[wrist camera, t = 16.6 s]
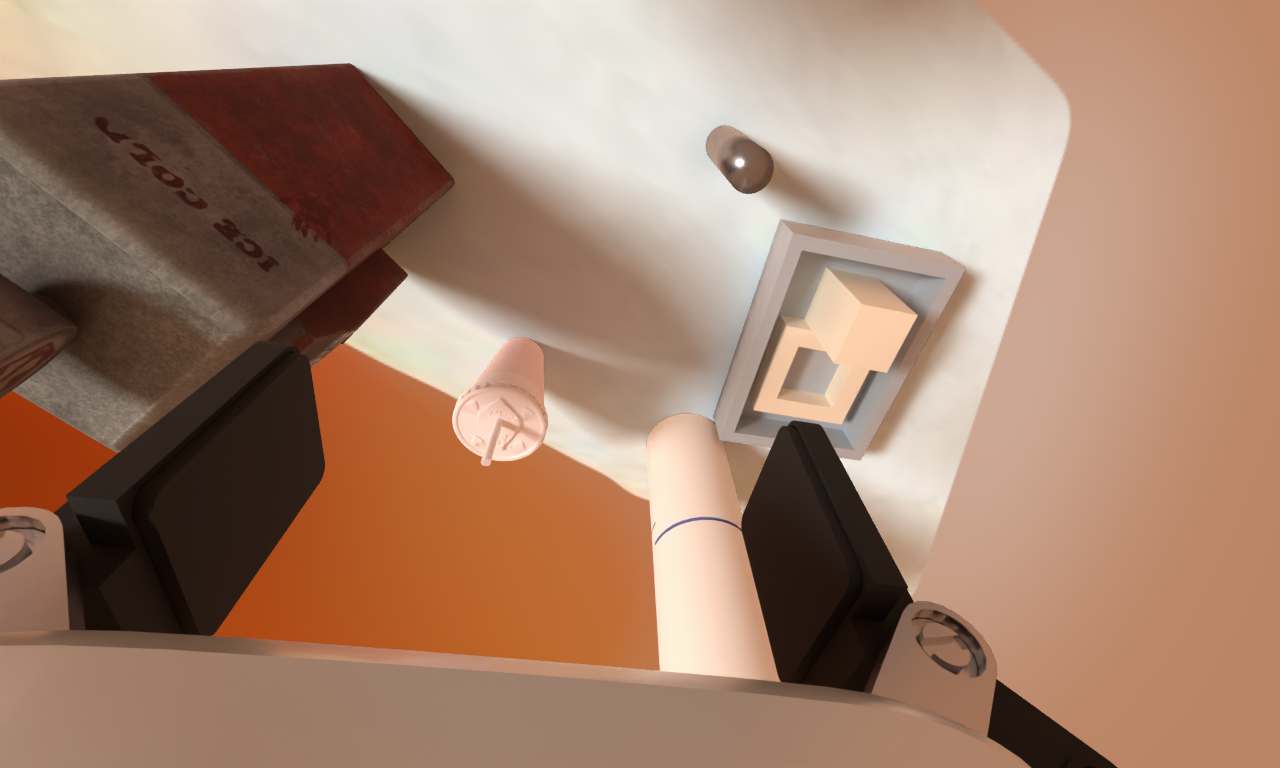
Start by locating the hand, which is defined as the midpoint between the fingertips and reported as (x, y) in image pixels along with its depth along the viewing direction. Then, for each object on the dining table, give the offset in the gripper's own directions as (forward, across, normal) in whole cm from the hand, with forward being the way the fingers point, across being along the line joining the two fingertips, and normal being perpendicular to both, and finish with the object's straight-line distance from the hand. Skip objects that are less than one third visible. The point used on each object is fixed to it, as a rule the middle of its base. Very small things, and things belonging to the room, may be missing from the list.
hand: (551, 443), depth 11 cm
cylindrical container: (+30, -12, +23) cm, 40 cm away
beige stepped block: (+30, -20, +10) cm, 37 cm away
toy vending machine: (+31, +15, +4) cm, 34 cm away
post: (+30, -8, -3) cm, 31 cm away
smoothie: (+30, +4, +16) cm, 35 cm away
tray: (+30, -20, +10) cm, 38 cm away
